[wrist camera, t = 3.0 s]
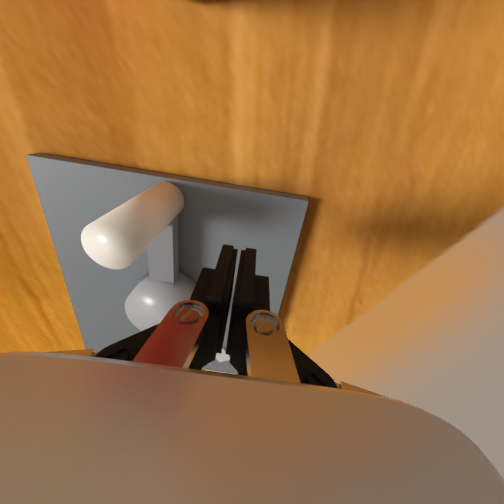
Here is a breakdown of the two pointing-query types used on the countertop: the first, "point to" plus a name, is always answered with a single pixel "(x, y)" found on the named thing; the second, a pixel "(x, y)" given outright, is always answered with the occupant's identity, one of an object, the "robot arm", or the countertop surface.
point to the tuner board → (125, 280)
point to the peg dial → (135, 242)
